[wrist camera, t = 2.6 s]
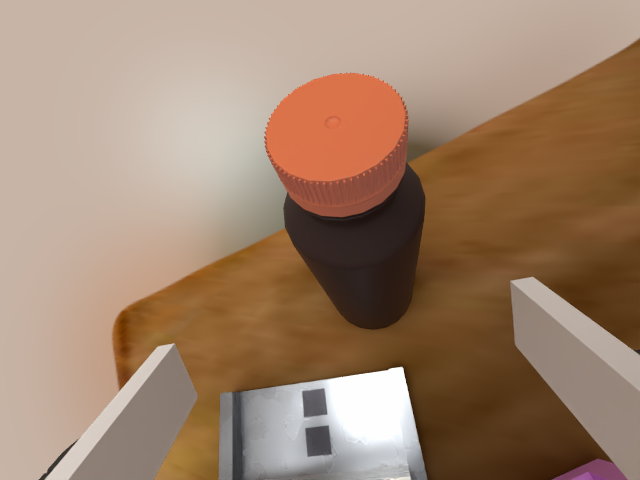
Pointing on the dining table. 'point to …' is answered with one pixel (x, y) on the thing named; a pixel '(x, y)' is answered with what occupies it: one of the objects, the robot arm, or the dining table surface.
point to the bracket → (594, 472)
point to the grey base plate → (322, 431)
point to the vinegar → (350, 192)
